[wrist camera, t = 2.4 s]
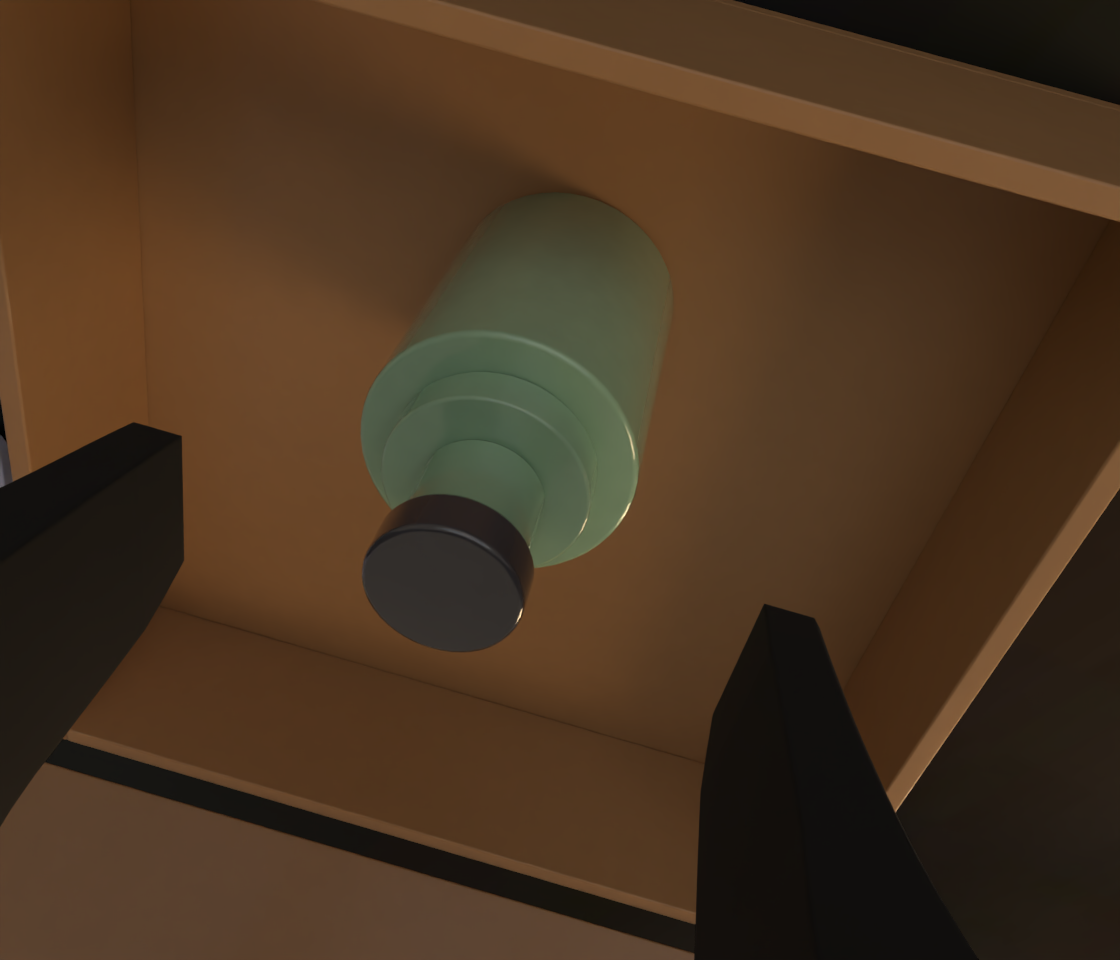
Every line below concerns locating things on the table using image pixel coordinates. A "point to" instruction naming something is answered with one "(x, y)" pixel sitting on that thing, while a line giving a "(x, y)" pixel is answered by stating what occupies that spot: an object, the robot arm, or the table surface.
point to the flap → (243, 892)
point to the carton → (680, 407)
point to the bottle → (513, 416)
